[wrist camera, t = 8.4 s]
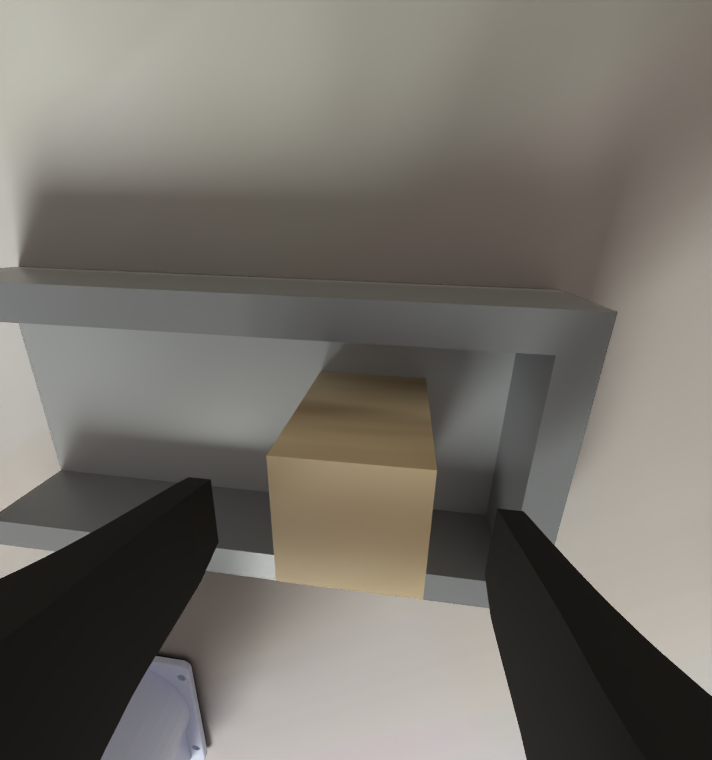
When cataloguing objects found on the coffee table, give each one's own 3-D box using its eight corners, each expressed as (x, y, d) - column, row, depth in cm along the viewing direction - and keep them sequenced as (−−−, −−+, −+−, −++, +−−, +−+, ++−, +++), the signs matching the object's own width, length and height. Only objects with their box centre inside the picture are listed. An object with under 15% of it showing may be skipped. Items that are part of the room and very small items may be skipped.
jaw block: (418, 470, 16) (423, 599, 10) (321, 461, 16) (276, 581, 11) (426, 378, 14) (436, 470, 9) (320, 371, 15) (266, 455, 9)
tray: (507, 530, 17) (535, 614, 13) (77, 483, 19) (-3, 543, 15) (558, 289, 13) (617, 311, 9) (17, 266, 15) (-107, 276, 12)
